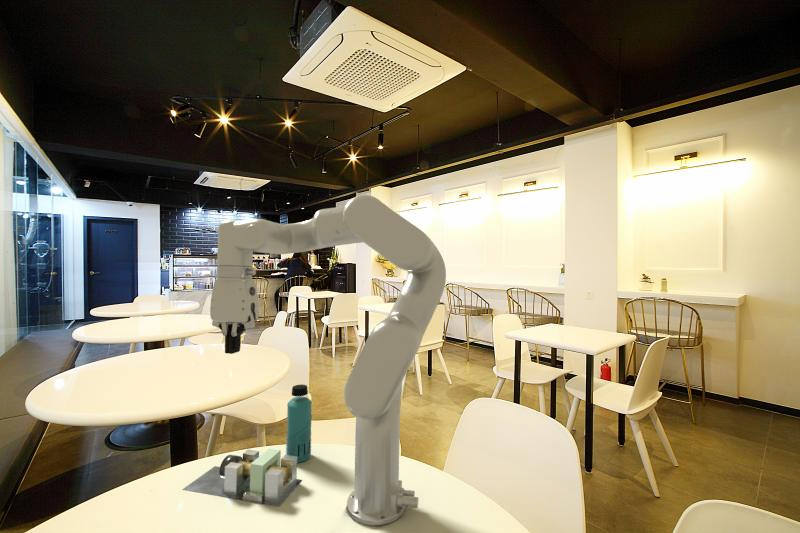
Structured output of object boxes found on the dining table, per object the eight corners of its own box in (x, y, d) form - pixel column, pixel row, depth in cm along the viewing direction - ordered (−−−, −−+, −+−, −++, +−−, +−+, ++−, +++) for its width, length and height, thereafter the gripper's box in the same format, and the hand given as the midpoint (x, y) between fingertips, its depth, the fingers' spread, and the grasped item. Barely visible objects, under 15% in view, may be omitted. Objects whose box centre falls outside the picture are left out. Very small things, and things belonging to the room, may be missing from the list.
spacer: (279, 480, 83) (280, 450, 83) (261, 498, 76) (262, 465, 76) (268, 478, 84) (269, 448, 84) (249, 496, 77) (250, 463, 77)
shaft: (290, 480, 81) (290, 459, 81) (278, 492, 77) (279, 470, 77) (233, 471, 85) (234, 450, 85) (218, 482, 80) (219, 461, 80)
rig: (302, 485, 83) (303, 455, 84) (278, 512, 74) (279, 478, 74) (214, 470, 89) (215, 442, 89) (182, 494, 79) (183, 463, 79)
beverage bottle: (295, 472, 89) (297, 391, 89) (280, 463, 93) (281, 386, 93) (316, 461, 94) (318, 385, 95) (300, 453, 98) (302, 380, 99)
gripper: (272, 274, 85) (270, 351, 85) (218, 273, 89) (216, 347, 88) (252, 274, 78) (250, 358, 78) (195, 273, 81) (192, 353, 81)
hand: (232, 352), depth 83 cm, fingers closed
